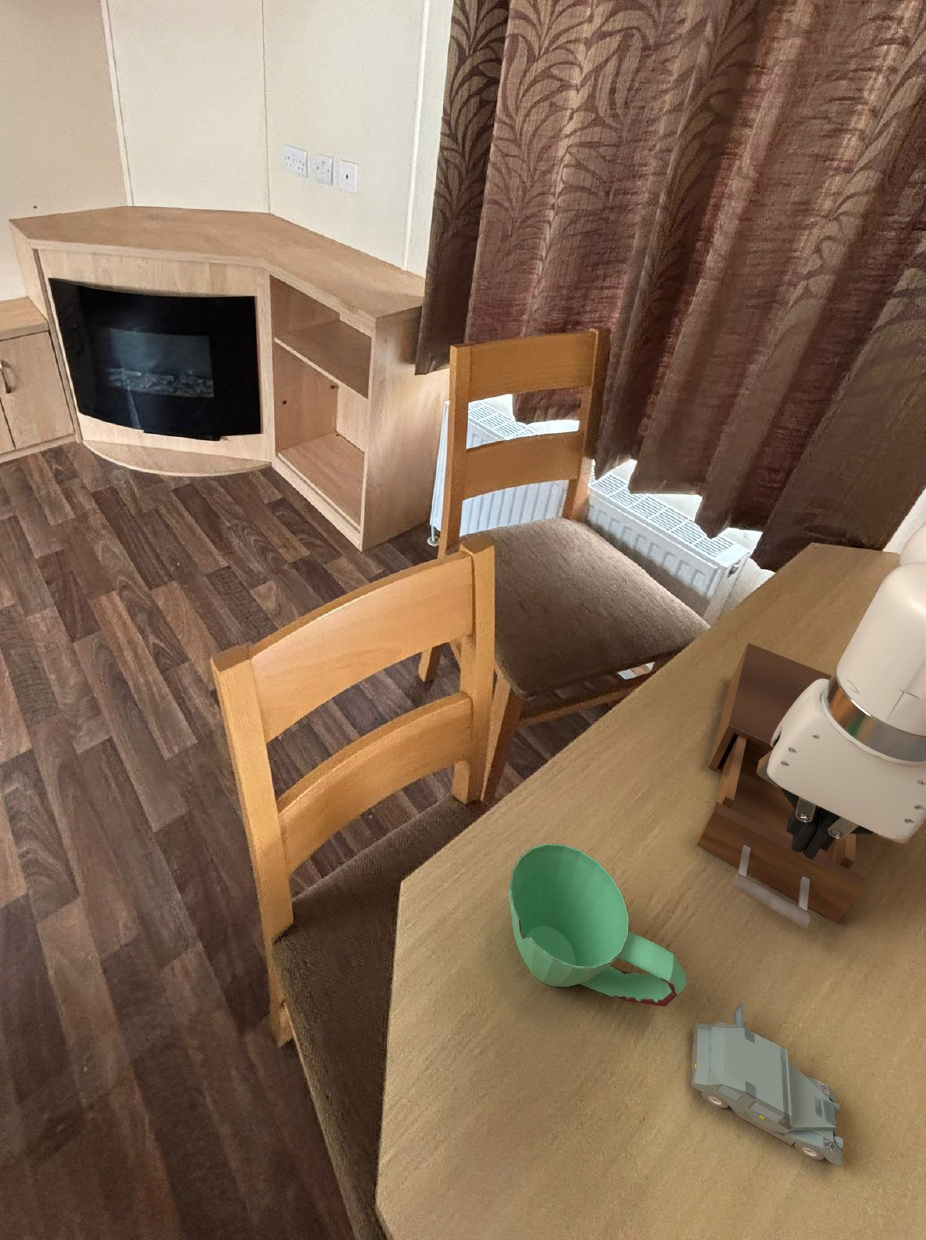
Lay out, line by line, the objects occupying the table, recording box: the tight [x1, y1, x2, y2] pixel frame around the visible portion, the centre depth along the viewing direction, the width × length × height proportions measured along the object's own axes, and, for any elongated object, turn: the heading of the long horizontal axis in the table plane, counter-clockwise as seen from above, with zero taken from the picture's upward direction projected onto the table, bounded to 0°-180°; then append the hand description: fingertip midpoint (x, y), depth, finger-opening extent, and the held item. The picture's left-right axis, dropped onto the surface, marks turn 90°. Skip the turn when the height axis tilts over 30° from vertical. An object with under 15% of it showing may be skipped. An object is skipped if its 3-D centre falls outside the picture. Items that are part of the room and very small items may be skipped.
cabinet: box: [707, 642, 832, 776], centre depth 79 cm, size 15×14×8 cm
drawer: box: [696, 734, 865, 929], centre depth 69 cm, size 18×12×6 cm
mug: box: [507, 842, 687, 1008], centre depth 60 cm, size 15×10×10 cm
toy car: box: [691, 1002, 844, 1167], centre depth 54 cm, size 6×10×5 cm, turn 63°
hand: (802, 841), depth 61 cm, fingers closed
